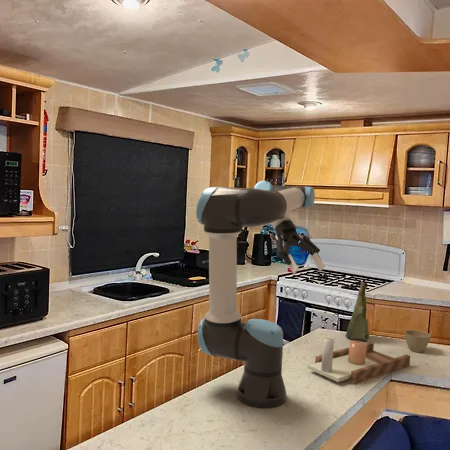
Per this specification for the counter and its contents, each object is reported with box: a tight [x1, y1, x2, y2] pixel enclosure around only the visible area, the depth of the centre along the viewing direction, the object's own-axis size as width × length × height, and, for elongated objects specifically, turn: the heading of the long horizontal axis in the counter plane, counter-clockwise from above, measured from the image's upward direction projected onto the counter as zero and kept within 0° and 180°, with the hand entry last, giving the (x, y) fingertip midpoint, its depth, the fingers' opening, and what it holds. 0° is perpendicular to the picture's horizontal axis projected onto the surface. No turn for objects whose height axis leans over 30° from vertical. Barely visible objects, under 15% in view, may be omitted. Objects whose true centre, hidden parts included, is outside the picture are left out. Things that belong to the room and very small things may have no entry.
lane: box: [314, 341, 411, 385], centre depth 177 cm, size 32×18×4 cm, turn 126°
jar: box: [348, 339, 367, 365], centre depth 174 cm, size 6×6×7 cm
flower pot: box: [404, 329, 431, 353], centre depth 197 cm, size 10×10×7 cm
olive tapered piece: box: [345, 281, 370, 342], centre depth 209 cm, size 11×12×25 cm
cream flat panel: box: [307, 337, 377, 383], centre depth 171 cm, size 24×14×12 cm, turn 126°
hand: (309, 270), depth 173 cm, fingers open, 13 cm apart
